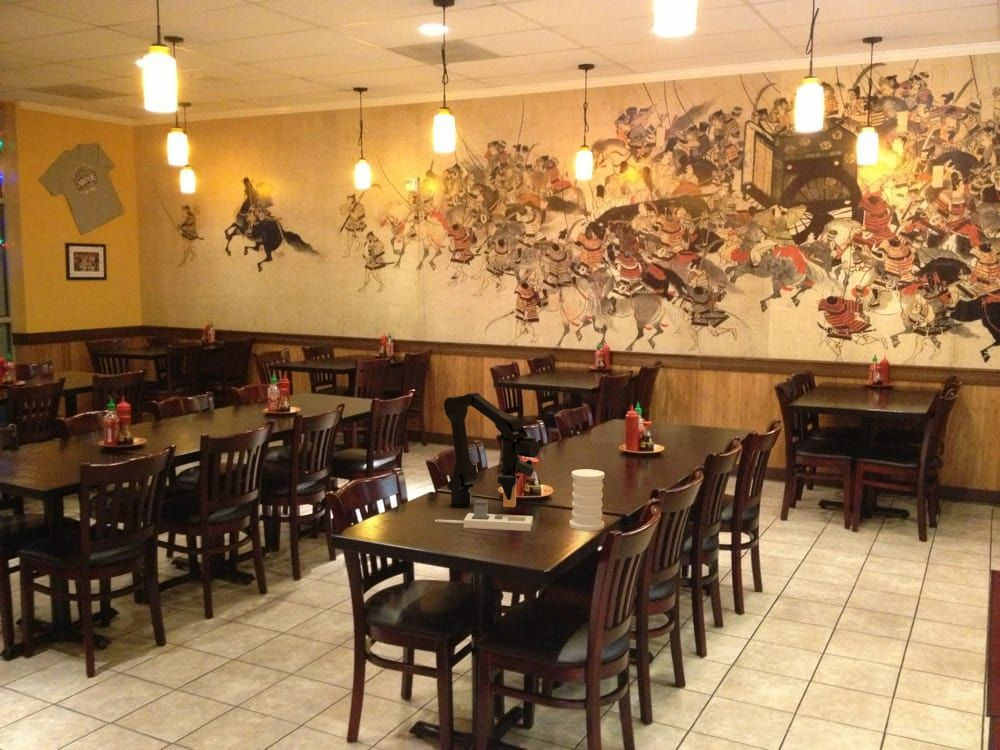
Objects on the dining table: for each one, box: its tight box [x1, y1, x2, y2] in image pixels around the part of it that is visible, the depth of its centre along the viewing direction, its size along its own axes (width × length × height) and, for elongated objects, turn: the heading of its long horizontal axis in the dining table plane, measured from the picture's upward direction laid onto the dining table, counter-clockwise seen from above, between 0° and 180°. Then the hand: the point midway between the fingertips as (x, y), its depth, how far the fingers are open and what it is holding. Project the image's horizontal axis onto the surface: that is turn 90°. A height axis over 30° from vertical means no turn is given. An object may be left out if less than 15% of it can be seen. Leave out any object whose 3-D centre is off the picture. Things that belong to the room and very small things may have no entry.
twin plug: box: [473, 499, 489, 520], centre depth 293 cm, size 4×3×8 cm
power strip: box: [434, 512, 534, 532], centre depth 293 cm, size 32×9×3 cm, turn 82°
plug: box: [502, 483, 517, 508], centre depth 303 cm, size 4×3×8 cm
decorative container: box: [568, 468, 605, 532], centre depth 293 cm, size 12×12×18 cm
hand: (509, 498), depth 304 cm, fingers closed on plug, 3 cm apart
